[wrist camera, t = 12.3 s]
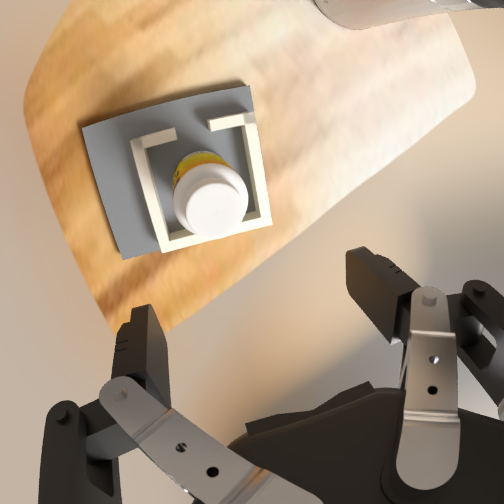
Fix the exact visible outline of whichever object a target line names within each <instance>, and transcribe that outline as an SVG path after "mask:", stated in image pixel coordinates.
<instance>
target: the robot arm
mask: <svg viewBox="0 0 504 504" xmlns="http://www.w3.org/2000/svg"><path fill="white" fill-rule="evenodd" d="M314 1H315V2H316V4H317V6H318V7H319V8H320V10H321V11H322V12H323V13H324V14H325V15H326V16H327V17H328V18H329V19H330V20H332V21H333V22H335V23H337V24H338V25H341V26H343V27H345V28H349V29H354V30H362V29H367V28H371V27H375V26H379V25H383V24H388V23H392V22H397V21H402V20H407V19H412V18H417V17H422V16H428V15H434V14H441V13H448V12H455V11H462V10H471V9H483V8H504V0H314ZM346 285H347V290H348V292H349V294H350V296H351V297H352V298H353V300H354V301H355V302H356V303H357V304H358V305H359V307H360V308H361V309H362V310H363V311H364V313H365V314H366V315H367V316H368V317H369V319H370V320H371V321H372V322H373V324H374V325H375V326H376V327H377V328H378V330H379V331H380V332H381V333H382V334H383V336H384V337H385V338H386V339H387V341H388V342H389V343H390V344H391V345H392V344H394V343H396V342H399V341H402V342H403V348H402V357H401V366H400V373H399V381H398V387H397V388H375V389H374V388H373V387H372V385H371V384H370V382H369V381H367V382H365V383H363V384H360V385H358V386H356V387H353V388H350V389H348V390H345V391H343V392H340V393H339V394H337V395H336V396H335V397H333V398H331V399H330V400H328V401H327V402H325V403H324V404H322V405H320V406H319V407H317V408H316V409H314V410H311V411H305V412H295V413H285V414H276V415H273V416H270V417H266V418H263V419H259V420H256V421H252V422H249V423H245V425H246V428H247V433H245V434H243V435H241V436H240V437H238V438H237V439H235V440H234V441H233V442H231V443H230V444H229V445H228V446H227V447H226V446H224V445H223V444H221V443H220V442H218V441H217V440H215V439H214V438H213V437H211V436H210V435H208V434H207V433H206V432H204V431H203V430H201V429H200V428H199V427H197V426H196V425H195V424H193V423H192V422H191V421H189V420H188V419H187V418H185V417H184V416H183V415H181V414H180V413H179V412H177V411H176V410H175V409H173V408H171V399H170V398H171V397H170V383H169V368H168V348H167V342H166V338H165V335H164V333H163V330H162V328H161V326H160V323H159V321H158V319H157V316H156V314H155V312H154V309H153V307H152V305H151V304H147V305H143V306H139V307H135V308H132V311H131V319H130V322H127V323H123V325H122V326H121V328H120V329H119V331H118V332H117V337H116V345H115V353H114V359H113V367H112V375H111V380H110V381H108V382H107V383H106V384H105V385H104V386H103V387H102V389H101V390H100V393H99V399H97V400H95V401H93V402H91V403H88V404H86V405H84V406H82V407H80V408H79V407H78V406H77V405H76V403H74V402H73V401H69V400H66V401H61V402H59V403H57V404H55V405H54V406H53V407H52V408H51V409H50V410H49V412H48V414H47V417H46V423H45V430H44V437H43V446H42V454H41V466H40V479H39V496H38V504H122V498H121V488H120V476H119V462H118V456H120V455H122V454H125V453H127V452H129V451H131V450H133V449H135V448H139V449H141V451H142V452H144V454H145V455H146V456H147V457H148V458H150V460H152V461H153V462H154V463H155V464H156V465H157V466H158V467H159V468H160V469H161V470H162V471H163V472H164V473H165V474H166V475H168V476H169V477H170V478H171V479H172V480H173V481H174V482H175V483H176V484H177V485H179V486H180V487H181V488H182V489H183V490H185V492H187V493H188V494H189V495H190V496H191V497H193V498H194V501H193V503H192V504H504V297H503V296H502V295H501V294H500V293H499V292H497V291H496V290H495V289H494V288H493V287H492V286H491V285H489V284H488V283H486V282H484V281H480V280H470V281H467V282H466V283H465V284H464V286H463V289H462V293H459V294H453V295H445V293H444V292H443V291H441V290H440V289H438V288H435V287H428V286H425V287H421V286H420V285H418V284H417V283H416V282H415V281H414V280H413V279H412V278H410V277H409V276H408V275H407V274H406V273H405V272H404V271H402V270H401V269H400V268H399V267H398V266H396V265H395V264H394V263H393V262H392V261H391V260H389V259H388V258H386V257H383V256H381V255H378V254H377V255H374V254H373V253H372V252H371V251H370V250H368V249H367V248H366V247H364V246H362V247H359V248H356V249H352V250H349V251H347V252H346ZM484 327H485V328H486V329H487V330H488V331H489V332H490V334H491V335H492V336H493V337H494V338H495V340H496V344H497V348H495V347H494V346H493V345H492V344H491V343H490V342H489V340H488V339H487V338H486V337H485V336H484V335H483V334H482V332H483V330H484ZM457 355H458V357H459V358H460V359H461V361H462V362H463V363H464V364H465V365H466V367H467V368H468V369H469V370H470V372H471V373H472V374H473V375H474V377H475V378H476V379H477V380H478V382H479V383H480V384H481V386H482V387H483V388H484V389H485V391H486V392H487V393H488V394H489V396H490V397H491V399H492V400H493V401H494V403H495V404H496V405H497V407H498V415H499V419H500V420H498V419H494V418H491V417H487V416H484V415H480V414H477V413H474V412H470V411H467V410H464V409H461V408H458V373H457Z"/></svg>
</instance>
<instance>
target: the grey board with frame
mask: <svg viewBox="0 0 504 504" xmlns="http://www.w3.org/2000/svg"><path fill="white" fill-rule="evenodd" d="M82 132H83V136H84V139H85V143H86V147H87V151H88V155H89V158H90V162H91V165H92V169H93V172H94V176H95V179H96V182H97V186H98V189H99V192H100V195H101V199H102V202H103V205H104V208H105V211H106V214H107V217H108V220H109V223H110V226H111V229H112V231H113V234H114V237H115V240H116V243H117V245H118V248H119V251H120V254H121V256H122V259H123V260H125V259H129V258H133V257H136V256H140V255H144V254H147V253H151V252H155V251H158V250H161V251H162V253H165V252H169V251H172V250H176V249H180V248H184V247H187V246H191V245H195V244H199V243H202V242H206V241H210V240H214V239H208V238H204V237H201V236H199V235H196V234H194V233H192V232H190V231H188V230H187V229H186V228H185V227H183V225H182V224H181V223H180V222H179V220H178V219H177V217H176V215H175V212H174V208H173V174H174V171H175V168H176V166H177V165H178V163H179V162H180V161H181V160H182V159H183V158H184V157H186V156H187V155H189V154H191V153H193V152H197V151H209V152H213V153H215V154H217V155H219V156H220V157H221V158H223V159H224V160H225V161H226V162H227V163H228V164H229V165H230V166H231V167H232V168H233V170H234V171H235V172H236V173H237V174H238V175H239V176H240V177H241V178H242V180H243V182H244V183H245V185H246V188H247V192H248V206H247V210H246V213H245V215H244V217H243V219H242V221H241V223H240V225H239V226H238V228H237V229H236V230H235V231H234V232H233V233H231V234H230V235H233V234H237V233H241V232H245V231H249V230H253V229H257V228H261V227H264V226H268V225H272V217H271V211H270V204H269V198H268V192H267V185H266V179H265V173H264V167H263V161H262V155H261V149H260V143H259V137H258V131H257V125H256V119H255V113H254V108H253V102H252V96H251V91H250V85H249V86H243V87H237V88H231V89H225V90H220V91H215V92H210V93H205V94H200V95H195V96H191V97H186V98H182V99H178V100H174V101H169V102H165V103H162V104H158V105H154V106H150V107H147V108H143V109H139V110H136V111H133V112H129V113H126V114H123V115H119V116H116V117H113V118H110V119H107V120H104V121H101V122H98V123H95V124H92V125H89V126H87V127H84V128H82ZM228 236H229V235H228Z"/></svg>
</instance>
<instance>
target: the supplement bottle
mask: <svg viewBox="0 0 504 504" xmlns="http://www.w3.org/2000/svg"><path fill="white" fill-rule="evenodd" d="M247 206H248V192H247V188H246V185H245V183H244V182H243V180H242V178H241V177H240V176H239V175H238V174H237V173H236V172H235V171H234V170H233V168H232V167H231V166H230V165H229V164H228V163H227V162H226V161H225V160H224V159H223V158H221V157H220V156H219V155H217V154H215V153H213V152H209V151H197V152H193V153H191V154H189V155H187V156H186V157H184V158H183V159H182V160H181V161H180V162H179V163H178V165H177V166H176V168H175V171H174V174H173V208H174V212H175V215H176V217H177V219H178V220H179V222H180V223H181V224H182V225H183V227H185V228H186V229H187V230H188V231H190V232H192V233H194V234H196V235H199V236H201V237H204V238H208V239H219V238H223V237H226V236H228V235H230V234H231V233H233V232H234V231H235V230H236V229H237V228H238V226H239V225H240V223H241V221H242V219H243V217H244V215H245V213H246V210H247Z"/></svg>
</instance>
